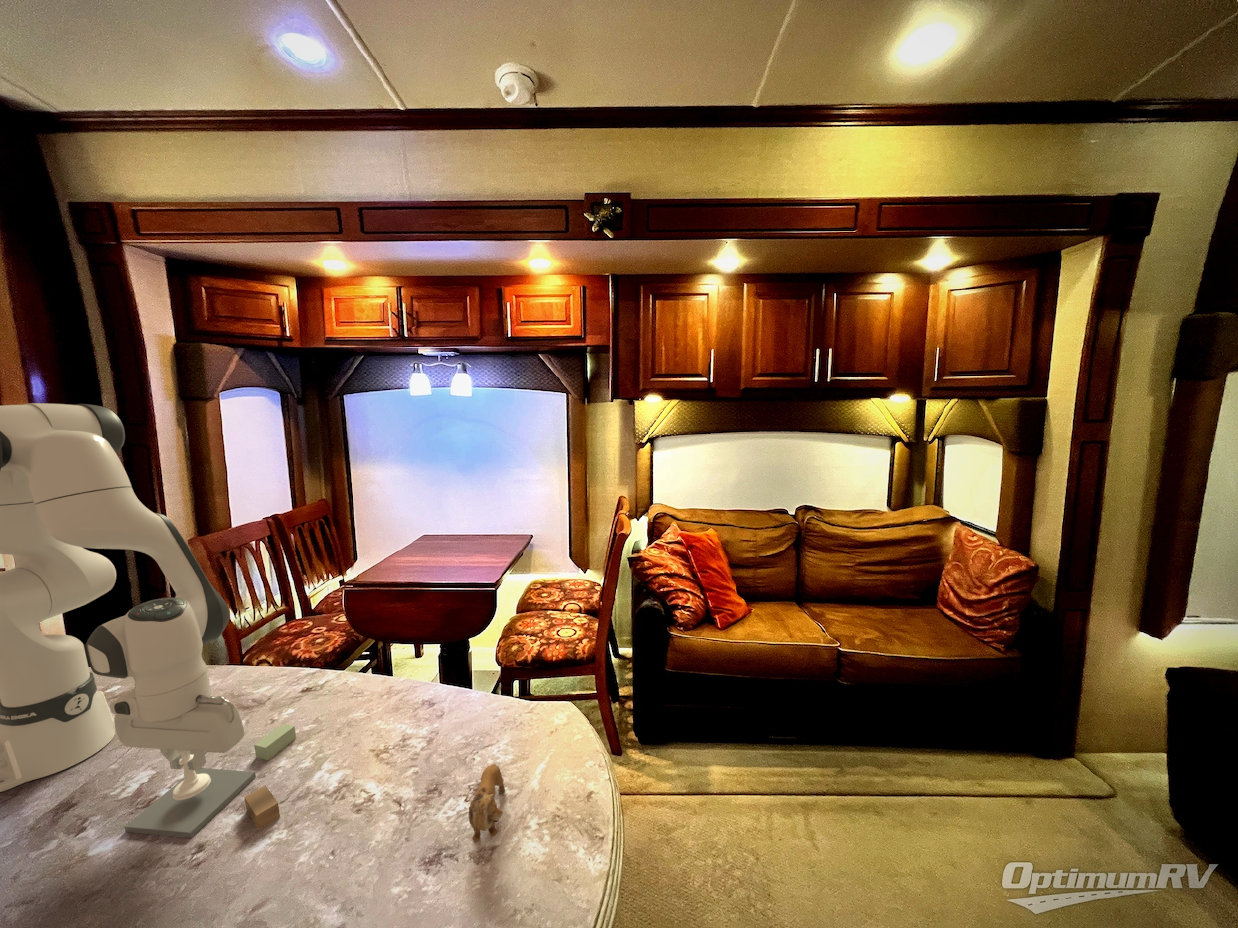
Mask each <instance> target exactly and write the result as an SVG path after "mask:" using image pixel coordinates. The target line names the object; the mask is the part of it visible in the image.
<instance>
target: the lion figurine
mask: <svg viewBox="0 0 1238 928" xmlns="http://www.w3.org/2000/svg"><path fill="white" fill-rule="evenodd" d="M502 775H503V774H502V772H501V769H500V767H499V766H497V765H496V764H495V763H492V764H490V765H488V766H486V767H485V768H484V770H483V771H482V774H481V777H480V778H481V779H480V781H479V782H480V783H479V786H478V789H477V790H476V794H475V795H474V797H473V798H472V800H471V802H470V805H469V808H468V821H469V824H470V827H471V828H472V829H473V833H474V834H473V835H472V836H471V837H472V838H471V839H472V841H473V842H479V841H480V839H481V835H482V833H481V832H485V831H487V830H488V832H489V833H488V834H489V836H490V837H495V836H496V835H497V834H498V832H499V831H498V829H497V827H496V824H499V822H500V819H501V817H502V815H503V813H504V811H503V810H502V809H500V808H499V807H498V805H497V802H496V799H495V795H496V786H497V787H498V788H497V791H498V793H500V794H502V793H504V792H505V790H506V789H505V785H504V782H505V781H504V778H503V776H502Z"/></svg>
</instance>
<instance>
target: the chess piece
mask: <svg viewBox="0 0 1238 928" xmlns="http://www.w3.org/2000/svg"><path fill="white" fill-rule="evenodd" d="M177 752H178V754H180V756H181V757H182V758H181V759H180V760H179V765H184V766H183V778H184V780H183V781H182V782H181V783H179V784H178V785H177V786H176V787H175V789H174V790H173V798H174V799H175V800H184V799H188V798H190V797H193V796H195V795H197V794H198V793H200V792H202V791H203V790H204V789H205V788H206V787H207V786H208V785H209V784H210V782H211V778H210V776H209V775H208V774H204V773H202V774H196V772H195V770H189V769H188V768H189V767H188V764H187V762H188V761H190V760H191V759H193V756H194V754H193V755H191V754H190V751H184V750H177Z"/></svg>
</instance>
